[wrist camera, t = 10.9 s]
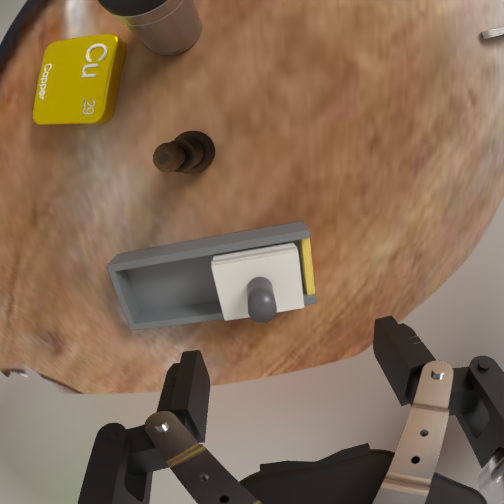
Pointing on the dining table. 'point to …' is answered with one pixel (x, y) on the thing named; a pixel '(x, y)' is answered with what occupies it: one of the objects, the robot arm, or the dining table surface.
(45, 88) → the element tile
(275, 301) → the white plate with knob
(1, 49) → the dining table surface
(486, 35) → the wrench
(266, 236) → the bay
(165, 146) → the brown wooden tall piece
